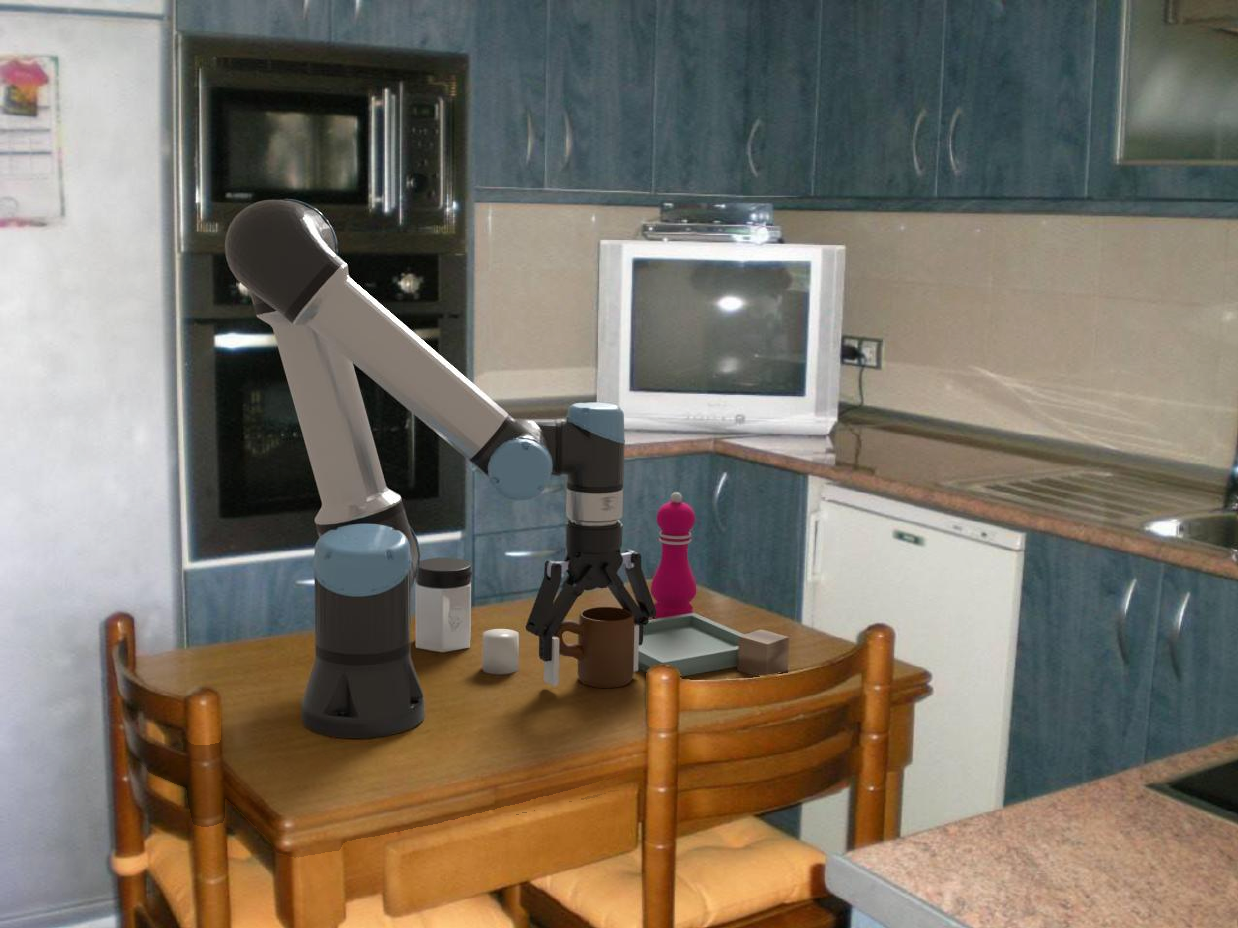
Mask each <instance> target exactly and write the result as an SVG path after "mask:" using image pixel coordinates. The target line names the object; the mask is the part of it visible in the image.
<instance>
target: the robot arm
mask: <svg viewBox="0 0 1238 928" xmlns="http://www.w3.org/2000/svg"><path fill="white" fill-rule="evenodd" d="M335 233H336V232H335V230H334V228H333V227H332V225H331V224H330V222H329V220H328V218H326V217H325V216H324V215H323V213H322V212H320V211H319V210H318V209H317V208H315V207H314V206H312V205H310V204H309V203H306V202H304V201H300V200H297V199H292V198H290V199H289V198H284V199H266V200H260V201H257V202H254V203H252V204H250V205H248V206H246V207H245V208H243V210H240V212H238V214H236V216H235V217H234V218H233V220H232V222H231V223H230V225H229V226H228V229H227V232H226V235H225V241H224V242H225V243H224V251H225V253H224V254H225V258H226V262H227V264H228V267H229V269H230V271H231V272H232V274H233V275H234V277H235V279H236V280H237V281H238V282H239V283H240V284H241V286H243V287H244V288H245V289H247V291H249V294H250V297H251V301H252V305H253V308H254V311H255V315H256V317H257V318H258V319H260V320H261V321H263V322H264V323H266V324H267V325H270V327H271V328H272V330H273V331H272V332H273V334H274V337H275V341H276V345H277V348H278V352H279V355H280V359H281V362H282V366H283V370H284V373H285V376H286V379H287V383H288V387H289V391H290V394H291V398H292V400H293V401H292V402H293V404H294V408H295V412H296V416H297V420H298V422H299V427H300V430H301V433H302V437H303V440H304V444H305V448H306V451H307V455H308V458H309V462H310V465H311V466H310V467H311V469H312V472H313V475H314V476H313V477H314V481H315V482H316V487H317V491H318V494H319V497H320V501H321V508H320V509H319V511H318V512H317V515H316V516H315V517H314V524H315V526H316V531H317V535H318V537H319V538H318V539H317V541H316V543H315V546H314V551H313V552H314V555H313V557H312V570H313V575H314V584H313V585H314V642H315V643H314V647H315V648H314V651H315V655H314V657H315V658H314V663H313V666H312V669H311V672H310V675H309V678H308V682H307V684H306V687H305V692H304V694H303V697H302V701H301V722H302V724H303V725H304V726H305V727H306V728H307V729H309V730H310V731H312V732H314V733H317V734H321V735H324V736H329V737H334V738H345V739H369V738H379V737H386V736H391V735H396V734H399V733H403V732H405V731H408V730H412V729H413V728H414V727H416V726H418V725H419V724H420V723H422V722H423V720H424V719H425V715H426V714H425V709H426V707H425V696H424V693H423V692H424V691H423V690H422V686H421V683H420V681H419V678H418V675H417V672H416V670H415V666H414V662H413V660H412V656H411V599H412V598H411V595H412V590H413V587H414V582H415V578H416V575H417V573H418V569H419V565H420V561H421V560H420V559H421V547H420V544H419V540H418V537H417V535H416V534H415V532H414V529H413V528H412V527H411V525H410V524H409V520H408V517H407V514H406V513H407V512H406V510H405V507H404V503H403V498H402V497H401V494H399V493H397V492H395V491H393V490H392V489H389V488H388V487H387V484H386V481H385V478H384V473H383V470H382V466H381V463H380V459H379V455H378V452H377V447H376V443H375V440H374V435H373V433H372V430H371V429H372V428H371V426H370V422H369V417H368V415H367V411H366V407H365V403H364V400H363V397H362V393H361V389H360V385H359V381H358V378H357V374H356V371H355V366H356V367H357V368H358V369H359V370H361V372H363V373H364V374H365V375H366V376H368V377H369V378H370V379H371V380H373V382H375V384H377V385H378V386H380V387H381V388H382V389H383V390H384V391H385V392H387V393H388V394H389V395H390V396H391V397H393V398H394V399H395V400H396V401H397V402H399V403H400V404H401V405H402V406H403V407H405V408H406V409H407V410H408V411H410V412H411V414H413V415H414V416H416V417H417V418H418V419H419V420H420V421H422V422H423V423H424V424H425V425H426V426H427V427H428V428H429V429H431V430H433V432H435V433H436V434H437V435H438V436H439V437H441V438H442V439H443V440H444V441H445V442H447V443H448V444H449V445H450V446H451V447H452V448H454V449H455V450H456V451H457V452H458V453H459V454H461V455H462V456H463V457H465V458H466V459H467V460H468V461H469V462H470V464H472V465H473V466H474V467H475V468H476V471H477V472H478V473H479V474H480V475H483V476H485V477H487V478H488V479H489V482H490V483H491V484H492V487H493V488H494V489H495V491H497V493H499V494H500V495H501V496H503V497H505V498H506V499H509V500H512V501H517V502H519V501H520V502H523V501H524V502H525V501H528V500H531V499H533V498H536V497H537V496H538V495H540V494H541V493H543V492H544V491H545V489H546V488H547V486H548V485H549V482H550V479H551V477H553V476H554V477H561V476H563V477H564V476H565V477H566V503H565V506H566V507H565V515H566V517H567V518H568V520H567V522H566V523H565V547H566V557H565V559H564V561H563V560H562V561H554V560H551V559H547V560H546V561H545V562H544V568H543V569H544V570H543V579H542V581H541V584H540V587H539V588H538V592H537V595H536V598H535V600H534V603H533V605H532V609H531V611H530V614H529V617H528V619H527V622H526V625H525V630H526V632H528V633H530V634H533V635H534V636H537V637H538V656H539V660H541V661H543V681H544V682H545V683H547V684H549V685H550V686H552V687H557V686H559V684H560V674H559V673H560V654H559V638H558V637H556V636H554V635H555V633H556V632H557V630H558V628H559V627H560V625H561V623H562V622H563V621H564V620H566V617H567V615H568V614H569V612H570V611H571V609H572V607H573V606H574V604H575V602H576V601H577V599H578V598H579V597H580V596H582V595H583V593H584V592H585V591H593V590H594V589H597V588H598V589H607V588H608V589H609V591H610V593H611V594H612V595H613V596H614V599H616V601H617V602H618V604H619V605H620V608H622V609H626V610H628V611H630V612H632V613H633V615H634V659H633V673H634V672H638V671H639V668H638V653H639V645H642V643H643V625H647V624H648V622H649V620H650V618H655V616H656V613H657V612H656V608H655V606H654V604H655V602H654V600H653V598H652V597H653V596H652V594H651V591H650V590H649V587H648V584H647V580H646V578H645V575H644V572H643V570H642V555H641V553H639V552H636V551H634V550H632V549H626V550H625V551H624V552H621V548H622V546H623V523H622V522H621V520H620V519H622V518H623V507H624V506H623V505H624V504H623V499H624V476H625V475H624V473H625V472H624V470H625V469H624V468H625V466H624V465H625V449H626V448H625V445H626V444H625V443H626V439H625V414H624V411H623V410H622V409H621V408H620V407H619V406H618V405H616V404H612V403H608V402H597V401H596V402H577V403H576V402H575V403H573V404H571V405H569V406H568V409H567V413H566V415H565V417H566V418H559V419H558V418H556V419H550V418H549V419H547V418H546V419H544V418H543V419H542V418H540V419H539V418H513V416H512V415H510V414H509V413H508V412H506V410H504V408H502V407H501V406H499V405H498V403H496V402H495V401H494V400H493V399H491V397H489V396H488V395H487V394H486V393H485V392H484V391H482V390H481V389H480V388H479V387H477V385H475V384H474V383H473V382H472V381H471V380H469V379H468V378H467V377H466V376H465V375H464V374H462V373H461V372H460V371H459V370H458V369H457V368H455V367H454V365H452V364H451V363H450V362H448V361H447V360H446V358H444V357H443V356H442V355H440V354H439V353H438V352H437V351H436V350H435V349H433V348H432V347H431V346H430V345H429V344H427V343H426V342H425V341H424V340H423V339H421V337H420V336H418V335H417V334H416V333H415V332H414V331H412V330H411V329H410V328H409V327H408V326H407V325H406V324H404V323H403V322H402V321H401V320H400V319H398V318H397V317H396V316H395V315H394V314H393V313H391V312H390V310H388V309H387V308H386V307H384V306H383V305H382V304H381V303H380V302H379V301H378V300H377V299H375V298H374V297H373V296H372V295H370V294H369V293H368V292H367V291H366V290H365V289H363V288H362V287H361V286H360V285H359V284H357V282H355V281H354V280H353V279H352V278H351V277H350V275H349V266H348V264H347V263H346V262H345V261H344V260H343V259H342V258H341V257H340V256H339V255H338V254H339V252H338V240H337V239H338V238H337V235H336V234H335ZM354 365H355V366H354ZM621 566H623V567H624V570H625V573H626V576H627V579H628V581H629V584H630V585H629V586H630V587H631V590H632V593H633V596H634V598H635V600H634V598H633V597H632V595H631V594H630V593H629V591H628V589H627V588H626V587H625V583H624V581H623V580H622V578H620V577H621V576H619V574H618V571H619V570H620V569H621ZM565 572H567V574H568V575H567V577H566V578H565V580H564V581H563V583H562V585H561V581H562V578H564V577H565ZM560 585H561V587H562V588H561V590H560V592H559V593H558V591H559V588H560ZM557 593H558V595H557Z"/></svg>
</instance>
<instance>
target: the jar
mask: <svg viewBox="0 0 1238 928" xmlns="http://www.w3.org/2000/svg"><path fill="white" fill-rule="evenodd" d="M472 577H473V570H472V563H471V562H470V561H468V560H466V559H462V558H457V557H456V558H455V557H433V558H432V557H431V558H426V559H422V560H420V565H419V569H418V573H417V575H416V578H415V579H414V582H415V592H414V593H415V596H414V597H415V648H417V649H420V650H421V649H422V650H427V651H432V652H436V653H437V652H438V653H447V652H453V651H460V650H464V649H469V648H470V647H471V638H472V637H471V633H472V632H471V630H472V629H471V628H472V626H471V625H472V623H471V622H472V617H471V616H472V611H471V610H472V609H471V608H472V604H471V603H472V597H471V596H472V592H471V591H472Z"/></svg>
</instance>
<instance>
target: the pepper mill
mask: <svg viewBox="0 0 1238 928" xmlns="http://www.w3.org/2000/svg"><path fill="white" fill-rule="evenodd" d="M670 500H671V501H669V502H666V503H664V504H662V505H661V506H660V507H659V508H658V511H657V513H656V523H657V526H658V527H659V529H660V531H659V538H658V540H659V542H660V543H661V558H660V562H659V564H658V567H657V569H656V571H655V572H654V575H653V577H652V581H651V585H650V594H651V597H653V599H654V600H655V601H656V602H654V606H655V608H656V612H657V613H656V616H655V617H654V619H658V618H664V617H670V616H676V615H683V614H689V613H694V612H693V611H694V610H693V609H694V608H693V605H692V604H691V601H692V600H693V599H694V598H695V597H696V595H697V583H696V578H695V575H694V573H693V571H692V569H691V565H690V562H689V556H688V547H689V544H690V543H691V542H692V538H691V537H692V533H691V532H690V531H691V529H692V528H693V527H694V525H695V523H696V515H695V511H694V510H693V508H692V507H691V506H690V505H689V504H688V503H686V502H682V500H683V495H682V494H681V493H680V492H678V491H674V492H673V493H672V494H671V495H670Z"/></svg>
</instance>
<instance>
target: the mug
mask: <svg viewBox="0 0 1238 928" xmlns="http://www.w3.org/2000/svg"><path fill="white" fill-rule="evenodd" d="M565 632H569V633H572V634H575V635H578V636H577V637H578V638H577V644H574V643H566V642H564V639H563V634H564V633H565ZM554 636H556V637H558V638H559V656H563V657H567V658H568V657H569V658H571V657H572V658H574V659H575V660H577V677H578V679H579V681H580V682H581V683H582V684H584V685H586V686H589V687H592V688H599V689H615V688H621V687H623V686H626V685H628V684H630V683H631V681H632V679H633V676H634V672H633V659H634V615H633V613H632V612H630V611H628V610H626V609H623V608H622V607H615V606H594V607H593V606H592V607H588V608H585V609H583V610H582V611H580V613H579V618H578V621H575V620H572V619H564V620H563V622H562V623H561V625H560V627H559V628H558V630H557V632H556V633H555V635H554Z"/></svg>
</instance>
